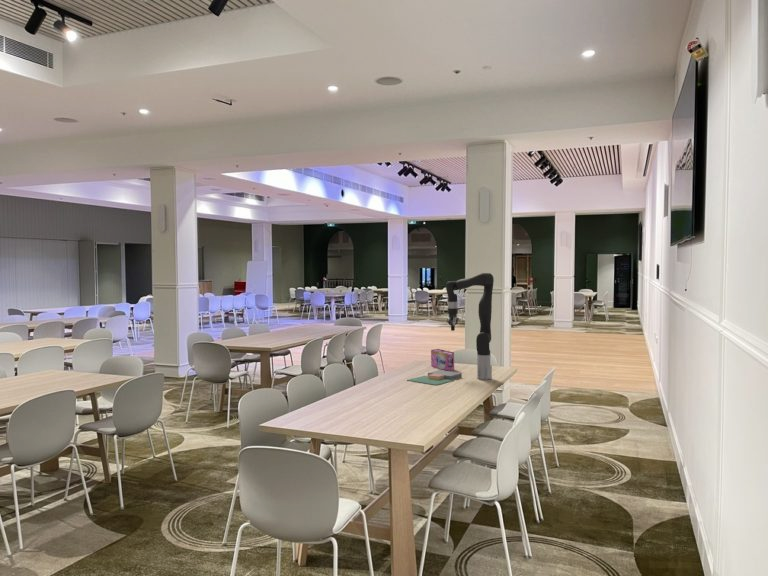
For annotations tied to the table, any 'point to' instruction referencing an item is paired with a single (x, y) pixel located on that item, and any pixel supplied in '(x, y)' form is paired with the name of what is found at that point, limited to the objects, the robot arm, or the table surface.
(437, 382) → the green mat
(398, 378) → the table surface
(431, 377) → the coral tile
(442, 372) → the gray riser
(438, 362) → the gum box
